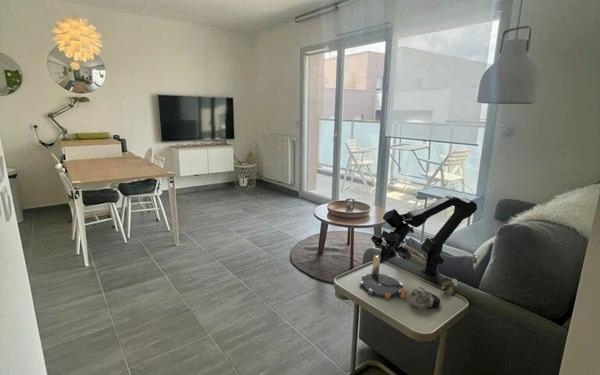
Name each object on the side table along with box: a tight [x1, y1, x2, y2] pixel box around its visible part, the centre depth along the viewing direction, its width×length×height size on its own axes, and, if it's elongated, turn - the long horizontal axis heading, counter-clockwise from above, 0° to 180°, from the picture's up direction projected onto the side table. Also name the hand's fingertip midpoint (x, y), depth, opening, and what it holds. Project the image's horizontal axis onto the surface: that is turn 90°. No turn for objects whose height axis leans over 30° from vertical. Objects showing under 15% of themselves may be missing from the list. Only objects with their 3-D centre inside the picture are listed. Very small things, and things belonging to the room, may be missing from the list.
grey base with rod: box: [359, 254, 404, 300], centre depth 135 cm, size 17×17×11 cm
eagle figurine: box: [438, 275, 459, 297], centre depth 136 cm, size 8×7×9 cm
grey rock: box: [408, 286, 441, 311], centre depth 126 cm, size 7×11×10 cm
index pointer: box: [399, 288, 408, 299], centre depth 129 cm, size 2×2×4 cm
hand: (379, 262), depth 142 cm, fingers closed
